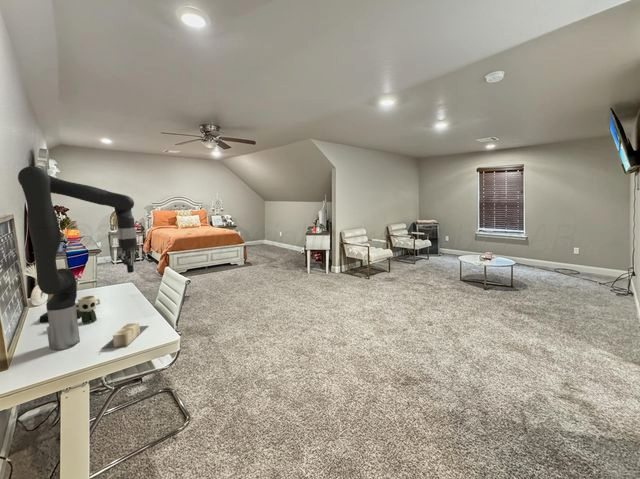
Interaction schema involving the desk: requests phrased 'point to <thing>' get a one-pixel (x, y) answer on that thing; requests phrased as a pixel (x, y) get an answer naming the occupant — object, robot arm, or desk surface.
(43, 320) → the portable cd player
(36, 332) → the desk surface
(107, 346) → the rubber mat
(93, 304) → the character mug
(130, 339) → the birch block
